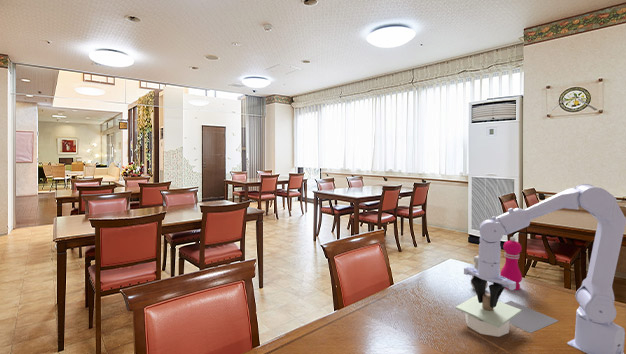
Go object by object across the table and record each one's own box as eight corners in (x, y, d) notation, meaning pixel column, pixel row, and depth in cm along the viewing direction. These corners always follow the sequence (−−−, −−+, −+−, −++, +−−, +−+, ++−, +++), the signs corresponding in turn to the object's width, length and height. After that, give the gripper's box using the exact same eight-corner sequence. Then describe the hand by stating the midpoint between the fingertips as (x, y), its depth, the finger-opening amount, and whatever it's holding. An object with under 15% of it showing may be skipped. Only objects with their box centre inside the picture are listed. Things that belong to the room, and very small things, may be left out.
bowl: (515, 330, 96) (516, 317, 95) (491, 340, 91) (492, 326, 90) (481, 313, 106) (482, 302, 105) (458, 321, 101) (458, 309, 100)
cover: (521, 311, 96) (521, 297, 96) (498, 327, 89) (499, 312, 89) (478, 295, 107) (478, 282, 106) (455, 308, 100) (455, 294, 99)
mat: (558, 321, 101) (559, 320, 101) (530, 334, 94) (530, 333, 94) (511, 301, 114) (511, 300, 114) (482, 311, 107) (483, 310, 107)
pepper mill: (502, 290, 123) (504, 238, 122) (497, 282, 130) (499, 233, 129) (524, 292, 121) (526, 240, 120) (518, 284, 128) (520, 235, 126)
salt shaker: (489, 293, 120) (491, 259, 119) (472, 292, 121) (474, 258, 120) (484, 287, 126) (485, 254, 125) (468, 286, 127) (469, 253, 126)
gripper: (522, 264, 93) (519, 310, 94) (473, 251, 105) (471, 292, 106) (509, 270, 89) (507, 317, 90) (460, 255, 101) (459, 297, 102)
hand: (487, 304), depth 98 cm, fingers closed on cover, 3 cm apart
